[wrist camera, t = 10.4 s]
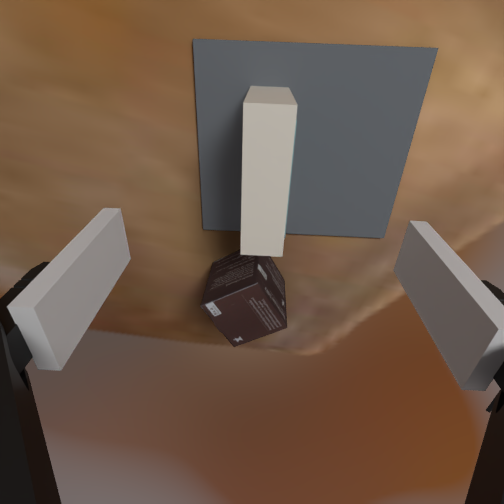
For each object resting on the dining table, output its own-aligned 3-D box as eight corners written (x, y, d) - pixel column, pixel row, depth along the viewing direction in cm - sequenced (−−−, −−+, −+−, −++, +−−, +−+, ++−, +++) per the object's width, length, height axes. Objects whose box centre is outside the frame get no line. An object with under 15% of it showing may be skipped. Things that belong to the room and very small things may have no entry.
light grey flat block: (247, 203, 31) (240, 254, 23) (250, 85, 26) (243, 102, 18) (280, 204, 31) (284, 256, 23) (290, 87, 26) (300, 105, 18)
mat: (203, 227, 33) (203, 229, 33) (193, 38, 24) (192, 38, 24) (382, 236, 33) (383, 238, 32) (435, 47, 24) (438, 48, 24)
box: (285, 280, 36) (289, 329, 30) (239, 299, 38) (233, 348, 32) (260, 238, 34) (258, 282, 27) (210, 261, 35) (198, 306, 29)
